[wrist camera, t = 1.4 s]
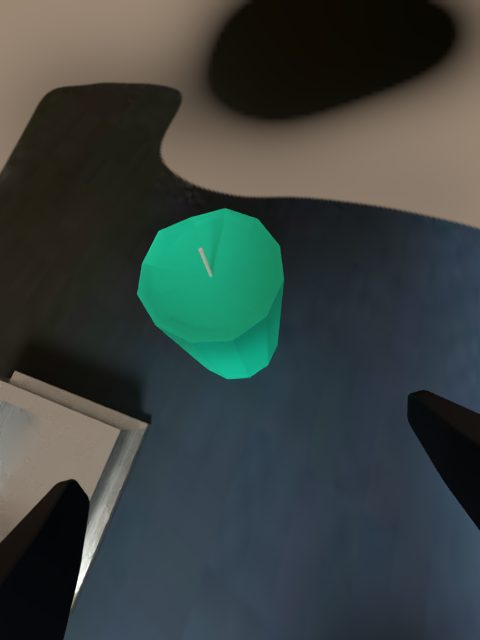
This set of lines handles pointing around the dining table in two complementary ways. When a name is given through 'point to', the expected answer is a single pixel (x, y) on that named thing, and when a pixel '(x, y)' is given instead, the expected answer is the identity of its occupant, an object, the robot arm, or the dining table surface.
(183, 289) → the candle
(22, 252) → the dining table surface
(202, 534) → the dining table surface
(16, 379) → the white tray
